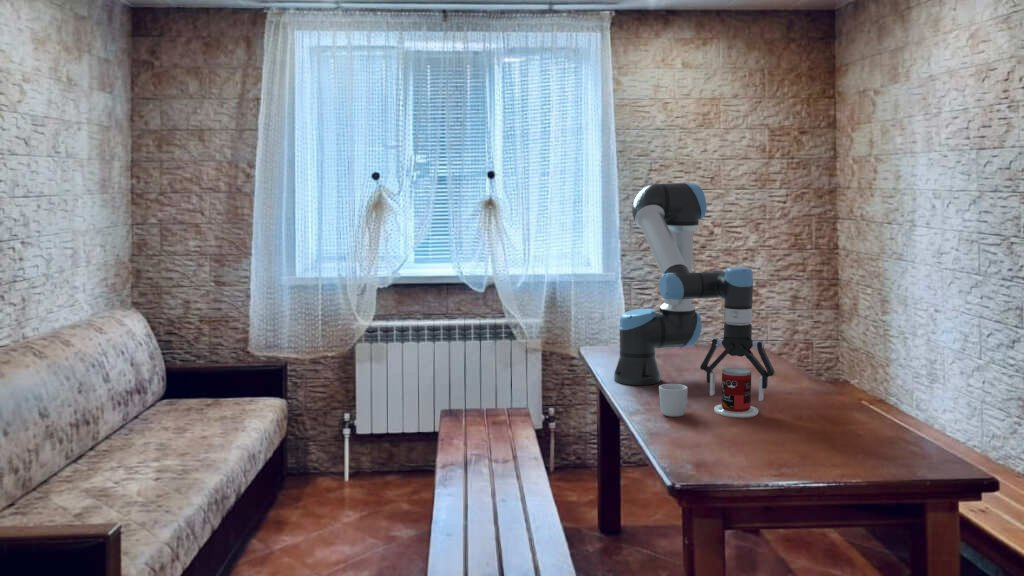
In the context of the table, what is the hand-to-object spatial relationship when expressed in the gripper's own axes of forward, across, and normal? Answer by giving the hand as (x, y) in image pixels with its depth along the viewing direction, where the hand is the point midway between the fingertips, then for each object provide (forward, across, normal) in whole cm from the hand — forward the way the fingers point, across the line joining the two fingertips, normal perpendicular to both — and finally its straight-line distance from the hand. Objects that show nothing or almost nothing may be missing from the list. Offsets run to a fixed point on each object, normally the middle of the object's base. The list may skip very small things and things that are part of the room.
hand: (736, 397), depth 231 cm
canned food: (+4, 0, 0) cm, 4 cm away
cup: (+4, -15, -9) cm, 18 cm away
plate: (+4, 0, 0) cm, 4 cm away
